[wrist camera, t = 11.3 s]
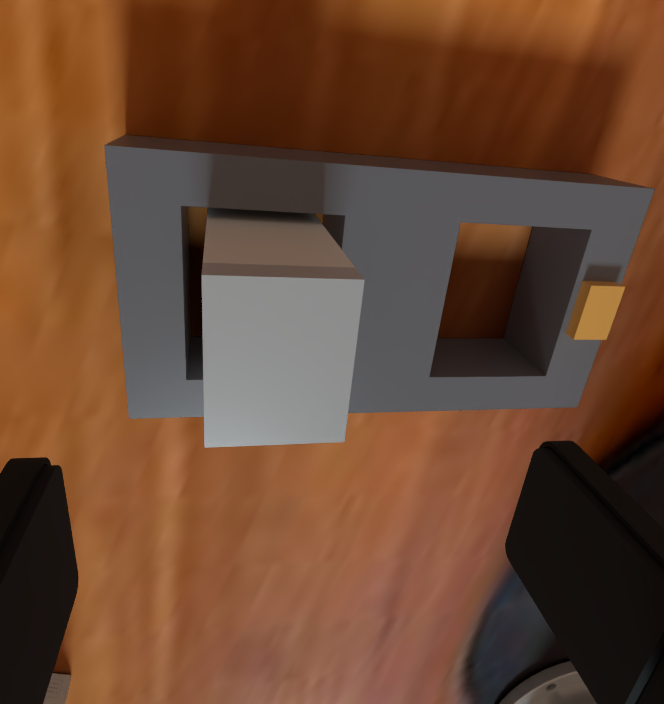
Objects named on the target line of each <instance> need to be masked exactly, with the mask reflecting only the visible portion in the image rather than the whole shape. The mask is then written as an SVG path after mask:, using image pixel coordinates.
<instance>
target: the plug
mask: <svg viewBox="0 0 664 704" xmlns="http://www.w3.org/2000/svg"><path fill="white" fill-rule="evenodd" d="M364 281H365V279H364V278H363V277H362V276H361V274H360V273H359V272H358V270H357V269H356V268H355V266H354V265H353V264H352V262H351V261H350V260H349V259H348V257H347V256H346V255H345V253H344V252H343V251H342V249H341V248H340V247H339V245H338V244H337V243H336V241H335V240H334V239H333V238H332V236H331V235H330V234H329V232H328V231H327V230H326V228H325V227H324V226H323V224H322V223H321V222H320V220H319V219H318V218H317V217H316V215H315V214H312V213H295V212H278V211H261V210H243V209H226V208H209V207H208V211H207V222H206V233H205V243H204V254H203V264H202V331H203V387H204V443H205V448H206V447H231V446H256V445H281V444H306V443H331V442H344V440H345V433H346V425H347V417H348V409H349V401H350V393H351V385H352V377H353V369H354V361H355V353H356V345H357V337H358V329H359V321H360V313H361V305H362V297H363V289H364Z"/></svg>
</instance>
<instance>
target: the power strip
mask: <svg viewBox="0 0 664 704" xmlns="http://www.w3.org/2000/svg"><path fill="white" fill-rule="evenodd" d="M104 146H105V157H106V168H107V179H108V190H109V201H110V212H111V223H112V235H113V246H114V257H115V268H116V279H117V290H118V301H119V312H120V323H121V334H122V346H123V357H124V368H125V379H126V390H127V401H128V412H129V419H133V418H172V417H204V387H203V337H191V310H190V271H189V232H188V206H192V207H209V208H226V209H243V210H261V211H278V212H295V213H312V214H324V215H323V226H324V227H325V228H326V230H327V231H328V232H329V234H330V235H331V236H332V238H333V239H334V240H335V241H336V243H337V244H338V245H339V247H340V248H341V249H342V251H343V252H344V253H345V255H346V256H347V257H348V259H349V260H350V261H351V262H352V264H353V265H354V266H355V268H356V269H357V270H358V272H359V273H360V274H361V276H362V277H363V278H364V279H365V281H364V289H363V297H362V305H361V313H360V321H359V329H358V337H357V345H356V353H355V361H354V369H353V377H352V385H351V393H350V401H349V409H348V413H369V412H409V411H448V410H487V409H527V408H566V407H578V404H579V401H580V399H581V396H582V393H583V390H584V387H585V384H586V382H587V379H588V376H589V373H590V370H591V368H592V365H593V362H594V359H595V356H596V353H597V351H598V348H599V345H600V342H601V340H607V337H608V334H609V331H610V328H611V326H612V323H613V320H614V317H615V314H616V312H617V309H618V306H619V303H620V301H621V298H622V295H623V292H624V289H625V286H623V285H621V283H622V280H623V277H624V275H625V272H626V269H627V266H628V263H629V260H630V258H631V255H632V252H633V249H634V246H635V244H636V241H637V238H638V235H639V232H640V229H641V227H642V224H643V221H644V218H645V215H646V213H647V210H648V207H649V204H650V201H651V198H652V196H653V193H654V190H655V189H653V188H649V187H644V186H640V185H636V184H631V183H627V182H623V181H618V180H614V179H610V178H605V177H601V176H597V175H592V174H584V173H572V172H560V171H548V170H536V169H524V168H512V167H501V166H489V165H477V164H465V163H453V162H441V161H429V160H417V159H406V158H394V157H382V156H370V155H358V154H346V153H334V152H322V151H310V150H299V149H287V148H275V147H263V146H251V145H239V144H227V143H215V142H204V141H192V140H180V139H168V138H156V137H144V136H132V135H124V136H122V137H120V138H118V139H116V140H114V141H112V142H110V143H108V144H106V145H104ZM461 222H468V223H485V224H502V225H519V226H533V228H532V232H531V235H530V239H529V243H528V247H527V251H526V254H525V258H524V262H523V266H522V270H521V273H520V277H519V281H518V285H517V289H516V292H515V296H514V300H513V304H512V307H511V311H510V315H509V319H508V323H507V326H506V330H505V334H504V338H503V339H488V338H437V337H438V332H439V327H440V322H441V317H442V312H443V307H444V302H445V297H446V292H447V287H448V282H449V277H450V272H451V267H452V262H453V257H454V252H455V247H456V243H457V238H458V233H459V228H460V223H461Z"/></svg>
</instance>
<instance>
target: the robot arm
mask: <svg viewBox="0 0 664 704" xmlns="http://www.w3.org/2000/svg"><path fill="white" fill-rule="evenodd" d="M505 549H506V554H507V557H508V559H509V561H510V563H511V565H512V566H513V568H514V570H515V571H516V573H517V574H518V576H519V578H520V579H521V581H522V583H523V584H524V586H525V588H526V589H527V591H528V592H529V594H530V596H531V597H532V599H533V601H534V602H535V604H536V605H537V607H538V609H539V610H540V612H541V614H542V615H543V617H544V618H545V620H546V622H547V623H548V625H549V627H550V628H551V630H552V632H553V633H554V635H555V636H556V638H557V640H558V641H559V643H560V645H561V646H562V648H563V649H564V651H565V653H566V654H567V656H568V658H569V659H570V661H568V662H564V663H560V664H557V665H555V666H552V667H550V668H547V669H545V670H543V671H541V672H539V673H537V674H535V675H533V676H531V677H530V678H528V679H526V680H525V681H523V682H522V683H520V684H519V685H518V686H516V687H515V688H514V689H513V690H511V691H510V692H509V693H508V694H507V695H506V696H505V697H504V698H503V699H502V700H501V702H500V703H499V704H664V529H663V528H662V527H661V526H660V525H658V524H657V523H656V522H655V521H654V520H653V519H652V518H651V517H650V516H649V515H648V514H647V513H646V512H645V511H644V510H643V509H642V508H641V507H640V506H639V505H638V504H637V503H636V502H635V501H634V500H633V499H632V498H631V497H630V496H629V495H628V494H627V493H626V492H625V491H624V490H623V489H622V488H621V487H620V486H619V485H618V484H617V483H616V482H615V481H614V480H613V479H612V478H611V477H610V476H609V475H608V474H607V473H606V472H605V471H603V470H602V469H601V468H600V467H599V466H598V465H597V464H596V463H595V462H594V461H593V460H592V459H591V458H590V457H589V456H588V455H587V454H586V453H585V452H584V451H583V450H582V449H581V448H580V447H579V446H578V445H577V444H576V443H574V442H573V441H547V442H543V443H542V444H541V445H540V448H539V449H536V450H535V451H534V453H533V455H532V458H531V462H530V465H529V468H528V471H527V475H526V478H525V481H524V484H523V487H522V491H521V494H520V497H519V500H518V504H517V507H516V510H515V513H514V517H513V520H512V523H511V526H510V529H509V533H508V536H507V539H506V543H505ZM77 588H78V569H77V563H76V557H75V550H74V544H73V538H72V531H71V525H70V518H69V512H68V506H67V499H66V493H65V487H64V480H63V474H62V469H61V467H60V466H59V465H53V466H51V463H50V461H49V459H48V458H46V457H45V458H14V459H10V460H9V461H8V462H7V464H6V465H5V467H4V468H3V470H2V472H1V473H0V704H43V702H44V699H45V696H46V692H47V689H48V686H49V683H50V679H51V676H52V673H53V670H54V666H55V663H56V660H57V656H58V653H59V650H60V647H61V643H62V640H63V637H64V634H65V630H66V627H67V624H68V620H69V617H70V614H71V611H72V607H73V604H74V601H75V598H76V594H77Z"/></svg>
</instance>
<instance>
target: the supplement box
mask: <svg viewBox="0 0 664 704" xmlns="http://www.w3.org/2000/svg"><path fill="white" fill-rule="evenodd" d="M70 680H71V675H66V674H57V673H52V676H51V679H50V683H49V686H48V689H47V692H46V696H45V699H44V702H43V704H65V703H66V699H67V695H68V690H69V685H70Z"/></svg>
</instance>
